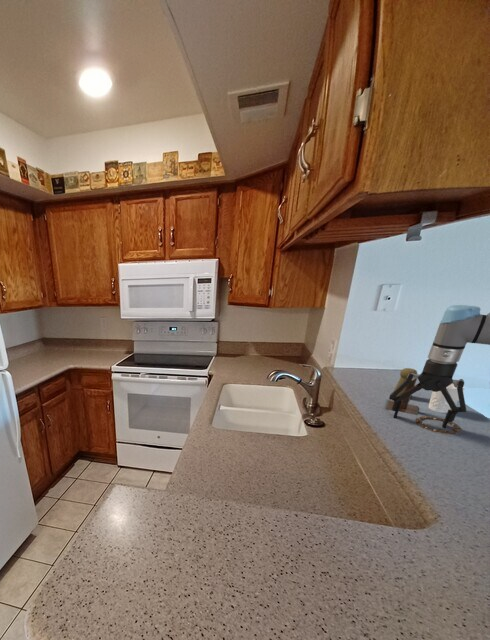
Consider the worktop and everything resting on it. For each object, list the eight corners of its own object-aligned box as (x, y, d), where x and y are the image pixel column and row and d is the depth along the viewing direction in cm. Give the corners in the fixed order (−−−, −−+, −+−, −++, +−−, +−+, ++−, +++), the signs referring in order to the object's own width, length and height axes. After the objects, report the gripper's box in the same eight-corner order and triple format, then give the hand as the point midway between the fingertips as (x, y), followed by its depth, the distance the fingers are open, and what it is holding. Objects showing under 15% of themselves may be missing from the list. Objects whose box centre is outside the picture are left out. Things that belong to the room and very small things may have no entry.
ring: (458, 426, 107) (461, 421, 106) (461, 441, 98) (463, 436, 97) (414, 417, 113) (416, 412, 112) (412, 431, 104) (415, 426, 103)
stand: (416, 409, 119) (430, 373, 112) (415, 418, 112) (430, 381, 106) (387, 404, 123) (399, 369, 117) (385, 412, 117) (397, 376, 110)
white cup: (444, 417, 112) (456, 390, 108) (420, 409, 119) (430, 383, 114) (457, 413, 115) (469, 386, 110) (433, 405, 122) (444, 379, 117)
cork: (389, 395, 130) (398, 369, 125) (394, 391, 134) (403, 365, 129) (407, 399, 127) (417, 372, 121) (411, 395, 130) (421, 368, 125)
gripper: (393, 357, 101) (373, 419, 112) (499, 370, 89) (466, 439, 99) (394, 352, 107) (375, 412, 117) (495, 364, 94) (464, 429, 104)
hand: (417, 424), depth 108 cm, fingers open, 12 cm apart
